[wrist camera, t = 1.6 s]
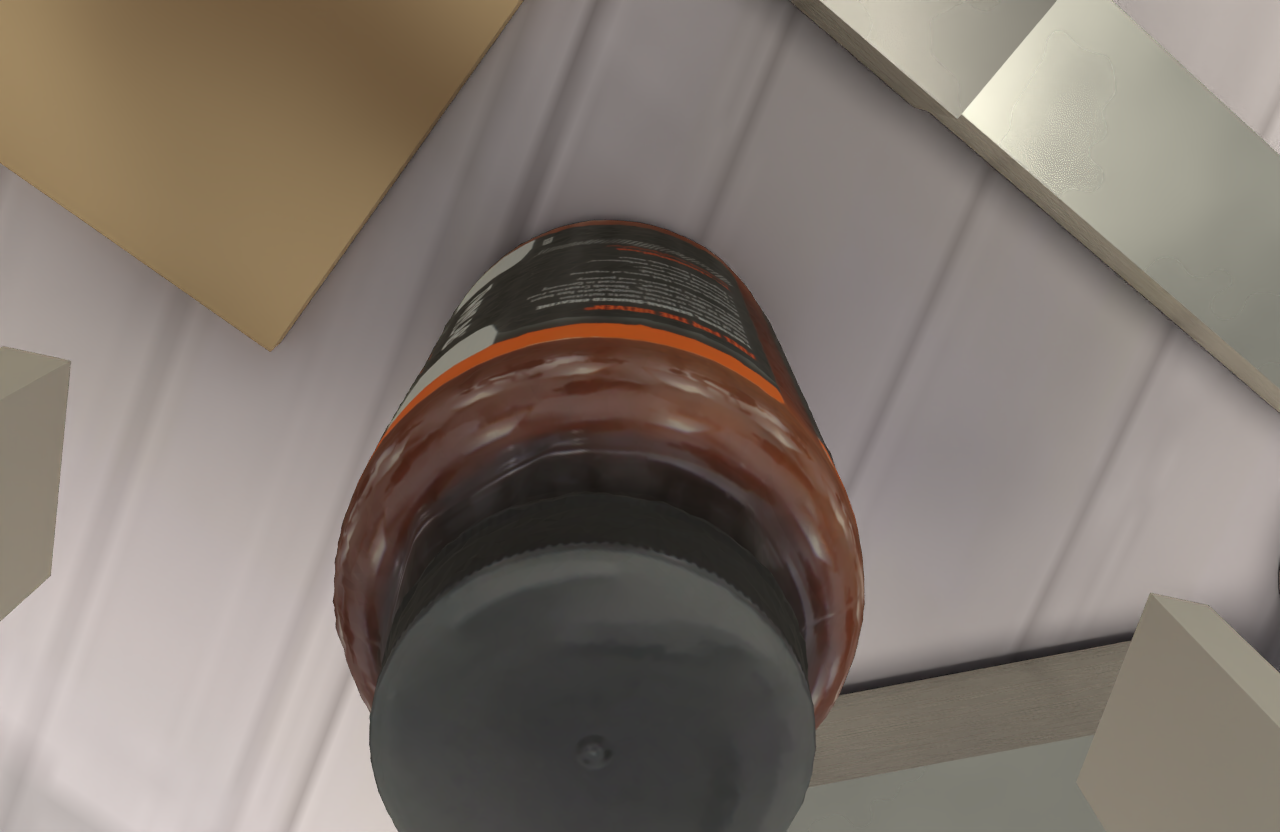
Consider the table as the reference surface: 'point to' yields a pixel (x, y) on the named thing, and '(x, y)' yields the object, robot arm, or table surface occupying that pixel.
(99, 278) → the table surface
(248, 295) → the cork mat
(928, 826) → the tong jaw
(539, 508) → the supplement bottle
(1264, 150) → the tongs base
